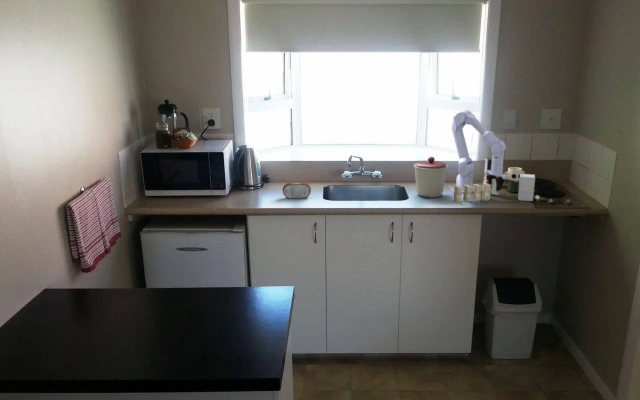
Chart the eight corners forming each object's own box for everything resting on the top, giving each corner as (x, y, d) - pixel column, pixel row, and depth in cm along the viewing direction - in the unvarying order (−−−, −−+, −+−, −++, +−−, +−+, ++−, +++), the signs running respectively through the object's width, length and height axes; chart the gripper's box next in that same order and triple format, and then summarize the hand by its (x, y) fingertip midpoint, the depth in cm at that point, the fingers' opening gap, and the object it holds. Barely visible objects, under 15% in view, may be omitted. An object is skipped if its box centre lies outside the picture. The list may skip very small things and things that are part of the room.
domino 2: (462, 199, 270) (463, 184, 268) (466, 199, 271) (467, 184, 268) (467, 202, 266) (468, 186, 264) (470, 201, 266) (471, 186, 264)
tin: (310, 197, 279) (310, 181, 277) (311, 198, 276) (310, 183, 274) (282, 197, 278) (282, 182, 276) (282, 199, 275) (282, 184, 273)
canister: (423, 201, 268) (424, 161, 263) (406, 192, 285) (407, 155, 279) (453, 197, 274) (455, 158, 268) (435, 189, 290) (437, 152, 285)
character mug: (505, 193, 281) (508, 170, 277) (500, 190, 288) (502, 167, 284) (525, 193, 282) (527, 169, 278) (520, 189, 288) (522, 166, 285)
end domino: (490, 193, 279) (491, 178, 277) (494, 192, 280) (495, 178, 278) (495, 195, 275) (496, 180, 273) (498, 194, 276) (499, 180, 273)
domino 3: (472, 198, 271) (473, 184, 269) (475, 198, 272) (476, 183, 270) (476, 201, 267) (477, 186, 265) (480, 200, 268) (481, 185, 266)
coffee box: (485, 187, 294) (487, 159, 290) (483, 184, 300) (485, 157, 296) (501, 187, 293) (504, 159, 289) (499, 184, 299) (501, 157, 295)
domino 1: (453, 200, 269) (454, 185, 267) (456, 200, 269) (457, 185, 267) (457, 202, 265) (458, 187, 263) (461, 202, 265) (462, 187, 263)
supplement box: (532, 197, 272) (535, 174, 269) (532, 201, 265) (535, 177, 262) (517, 196, 275) (520, 173, 271) (517, 200, 268) (519, 176, 265)
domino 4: (481, 198, 273) (482, 183, 271) (485, 197, 273) (486, 183, 271) (486, 200, 269) (487, 185, 266) (489, 200, 269) (490, 185, 267)
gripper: (482, 162, 278) (480, 187, 282) (500, 168, 265) (498, 193, 269) (492, 161, 281) (490, 185, 284) (511, 166, 268) (509, 192, 271)
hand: (495, 189), depth 277 cm, fingers closed on end domino, 5 cm apart
